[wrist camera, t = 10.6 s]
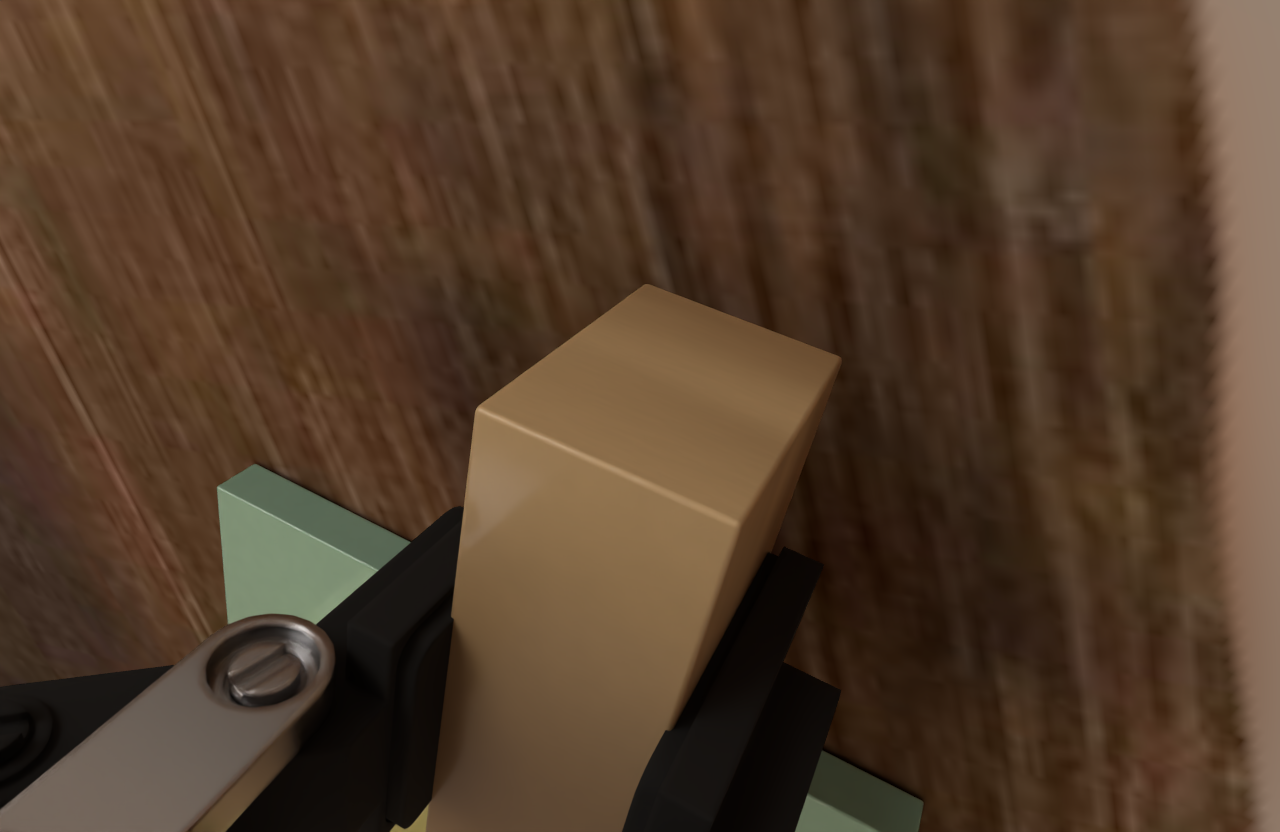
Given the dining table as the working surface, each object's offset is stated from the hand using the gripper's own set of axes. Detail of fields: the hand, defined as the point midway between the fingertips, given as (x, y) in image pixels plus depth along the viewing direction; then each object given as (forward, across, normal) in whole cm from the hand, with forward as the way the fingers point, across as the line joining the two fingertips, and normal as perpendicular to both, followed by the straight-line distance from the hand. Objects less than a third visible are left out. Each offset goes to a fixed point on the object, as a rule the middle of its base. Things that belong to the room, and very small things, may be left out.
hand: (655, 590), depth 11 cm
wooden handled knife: (0, 0, +5) cm, 5 cm away
